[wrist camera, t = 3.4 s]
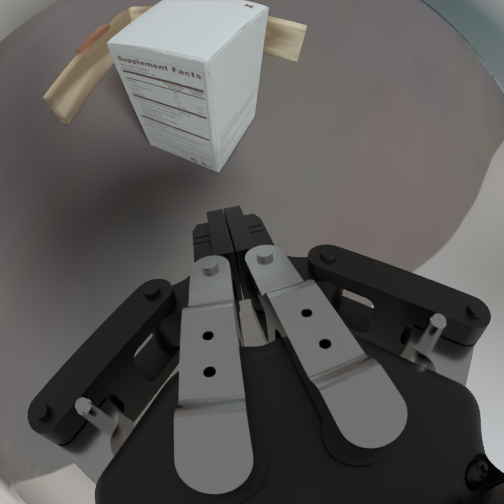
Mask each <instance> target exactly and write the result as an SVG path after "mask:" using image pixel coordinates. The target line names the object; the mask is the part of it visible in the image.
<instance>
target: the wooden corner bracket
mask: <svg viewBox="0 0 504 504" xmlns="http://www.w3.org/2000/svg"><path fill="white" fill-rule="evenodd" d="M152 7H153V6H142V7H130V8H129V9H127V10H123V11H122V12H121V13H120V14H119V15H117V16H116V17H115V18H114V19H113V20H112V21H111V22H110V23H108V24H107V25H101V26H100V27H99V28H98V29H97V30H96V31H95V32H94V33H93V34H92V35H91V36H90V37H89V38H88V39H87V40H86V41H85V42H84V43H83V44H82V45H81V46H80V47H79V48H78V49H77V50H76V52H77V54H78V55H77V56H76V57H75V58H74V59H73V60H72V61H71V62H70V64H69V65H68V66H67V67H66V68H65V70H64V71H63V72H62V73H61V74H60V76H59V77H58V78H57V79H56V81H55V82H54V83H53V85H52V86H51V87H50V89H49V90H48V91H47V93H46V94H45V95H44V97H43V98H44V100H45V101H46V102H47V104H48V105H49V106H50V108H51V109H52V110H53V112H54V113H55V114H56V115H57V117H58V118H59V119H60V121H61V122H62V123H65V124H70V122H71V121H72V119H73V118H74V116H75V115H76V113H77V112H78V110H79V109H80V107H81V106H82V104H83V103H84V101H85V100H86V99H87V97H88V96H89V94H90V93H91V92H92V90H93V89H94V88H95V86H96V85H97V84H98V82H99V81H100V80H101V78H102V77H103V76H104V75H105V73H106V72H107V71H108V70H109V68H110V67H111V66H112V65H113V64H114V61H113V58H112V56H111V53H110V51H109V49H108V46H107V44H106V43H107V42H108V41H109V40H110V39H111V38H112V37H114V36H115V35H116V34H117V33H118V32H120V31H121V30H122V29H123V28H125V27H126V26H127V25H128V24H130V23H131V22H132V21H134V20H135V19H136V18H138V17H139V16H140V15H142V14H143V13H145V12H146V11H147V10H149V9H150V8H152ZM306 28H307V26H306V25H303V24H299V23H295V22H291V21H287V20H283V19H279V18H275V17H270V16H268V18H267V25H266V32H265V39H264V47H263V53H265V54H270V55H274V56H278V57H281V58H285V59H289V60H292V61H296V62H297V60H298V57H299V53H300V50H301V46H302V43H303V39H304V36H305V32H306Z"/></svg>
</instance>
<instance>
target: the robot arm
mask: <svg viewBox="0 0 504 504" xmlns="http://www.w3.org/2000/svg"><path fill="white" fill-rule="evenodd" d="M224 215H225V217H224ZM207 218H208V223H204V224H199V225H197V226H196V227H195V229H194V230H193V244H194V245H193V246H194V262H195V263H194V264H193V265H192V267H191V270H190V276H189V277H188V278H186V279H185V280H183V281H181V282H179V283H177V284H175V285H173V286H171V284H170V282H168V281H167V280H164V279H154V280H150V281H147V282H145V283H144V284H142V285H141V286H140V287H138V288H137V289H136V290H135V291H134V292H133V293H132V294H131V295H130V296H129V297H128V298H127V299H126V300H125V301H124V302H123V303H122V304H121V305H120V306H119V307H118V308H117V309H116V310H115V311H114V312H113V313H112V314H111V315H110V316H109V317H108V318H107V319H106V320H105V321H104V322H103V323H102V325H101V326H100V327H99V328H98V329H97V330H96V331H95V332H94V333H93V334H92V335H91V336H90V337H89V338H88V339H87V340H86V341H85V342H84V343H83V344H82V345H81V347H80V348H79V349H78V350H77V351H76V352H75V353H74V354H73V355H72V356H71V357H70V358H69V360H68V361H67V362H66V363H65V364H64V365H63V366H62V367H61V368H60V369H59V371H58V372H57V373H56V374H55V375H54V376H53V377H52V378H51V380H50V381H49V382H48V383H47V384H46V385H45V386H44V388H43V389H42V390H41V391H40V392H39V393H38V395H37V396H36V397H35V398H34V399H33V401H32V402H31V404H30V406H29V410H28V421H29V424H30V426H31V428H32V429H33V430H34V431H35V432H37V433H39V434H40V435H42V436H43V437H45V438H46V439H48V440H49V441H50V442H51V443H53V444H54V445H56V446H58V447H59V448H61V449H62V450H63V451H64V452H65V453H66V454H67V455H68V456H69V458H70V459H71V460H72V461H73V462H74V463H75V464H76V465H77V466H78V467H79V468H80V469H81V470H82V471H83V472H84V473H85V474H86V475H87V476H88V477H89V478H90V479H91V480H92V481H93V482H94V483H95V484H96V489H95V503H96V504H504V473H503V472H501V471H500V470H499V469H497V468H496V467H495V466H494V465H493V464H492V463H491V462H490V461H489V459H488V458H487V456H486V454H485V450H484V446H483V441H482V434H481V419H480V410H479V407H478V404H477V401H476V399H475V397H474V396H473V394H472V393H471V392H470V391H469V390H468V389H467V388H466V387H465V385H466V381H467V377H468V372H469V368H470V364H471V359H472V353H473V348H474V345H475V344H476V343H477V341H478V340H479V338H480V337H481V335H482V334H483V332H484V330H485V329H486V327H487V326H488V324H489V322H490V319H491V314H490V311H489V309H488V307H487V306H486V305H485V303H483V302H482V301H481V300H480V299H478V298H476V297H473V296H471V295H469V294H466V293H464V292H461V291H458V290H456V289H453V288H451V287H448V286H446V285H443V284H440V283H438V282H435V281H432V280H430V279H427V278H424V277H422V276H419V275H416V274H414V273H411V272H408V271H406V270H403V269H400V268H397V267H395V266H392V265H389V264H386V263H383V262H381V261H378V260H375V259H372V258H369V257H367V256H364V255H361V254H358V253H355V252H352V251H349V250H346V249H343V248H340V247H338V246H334V245H319V246H316V247H314V248H312V249H311V250H310V251H309V253H308V257H290V256H286V254H285V253H284V252H283V250H282V249H280V248H279V247H277V246H274V244H273V242H272V240H271V238H270V236H269V234H268V232H267V230H266V228H265V226H264V225H263V222H262V220H261V218H259V217H258V216H256V215H254V214H249V215H243V213H242V210H241V208H240V206H234V207H229V208H224V213H223V210H222V209H219V210H214V211H209V212H207ZM240 286H241V288H240ZM241 289H242V293H243V296H244V300H246V299H251V303H252V309H253V314H254V317H255V319H256V322H257V324H258V326H259V329H260V331H261V334H262V336H263V338H264V341H265V343H266V345H263V346H258V347H244V340H243V333H242V327H241V319H240V314H239V312H240V305H239V301H241V300H243V299H242V293H241ZM343 289H345V290H347V291H350V292H352V293H355V294H357V295H360V296H362V297H365V298H367V299H369V300H370V301H371V302H372V303H373V305H374V308H371V307H369V306H366V305H364V304H361V303H359V302H357V301H354V300H352V299H349V298H347V297H344V296H342V294H343ZM151 333H152V334H153V337H152V338H151V339H150V340H149V341H148V342H147V344H146V345H145V346H144V347H143V348H142V349H141V351H140V352H139V353H138V354H137V355H136V356H135V358H134V355H135V352H136V350H137V349H138V348H139V347H140V346H141V344H142V343H143V342H144V341H145V340H146V339H147V338H148V336H149V335H150V334H151ZM178 364H179V372H177V373H176V374H175V375H174V376H172V377H171V378H170V379H169V381H168V382H167V383H166V384H165V385H164V387H163V388H162V390H161V391H160V392H159V394H158V395H157V397H156V398H155V399H154V401H153V402H152V404H151V405H150V407H149V408H148V409H147V411H146V412H145V414H144V415H143V416H142V418H141V419H140V421H139V422H138V423H137V425H136V426H135V428H134V425H133V423H134V421H135V420H136V419H137V417H138V416H139V415H140V414H141V412H142V411H143V410H144V408H145V407H146V406H147V404H148V403H149V402H150V401H151V399H152V398H153V397H154V395H155V394H156V393H157V391H158V390H159V389H160V387H161V386H162V385H163V384H164V382H165V381H166V380H167V378H168V377H169V376H170V374H171V373H172V372H173V370H174V369H175V368H176V366H177V365H178Z"/></svg>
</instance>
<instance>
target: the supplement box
mask: <svg viewBox="0 0 504 504" xmlns="http://www.w3.org/2000/svg"><path fill="white" fill-rule="evenodd" d="M268 10H269V8H268V7H267V6H264V5H260V4H257V3H253V2H249V1H245V0H162V1H160V2H159V3H158V4H156V5H155V6H153V7H152V8H150V9H149V10H147V11H146V12H145V13H143V14H142V15H140V16H139V17H138V18H136V19H135V20H134V21H132V22H131V23H130V24H128V25H127V26H126V27H125V28H123V29H122V30H121V31H120V32H118V33H117V34H116V35H115V36H114V37H112V38H111V39H110V40H109V41H108V42H107V43H106V44H107V46H108V49H109V51H110V53H111V56H112V58H113V61H114V63H115V66H116V68H117V70H118V73H119V75H120V78H121V80H122V82H123V85H124V87H125V89H126V92H127V94H128V96H129V98H130V101H131V103H132V105H133V108H134V110H135V112H136V114H137V116H138V119H139V121H140V123H141V126H142V128H143V130H144V132H145V134H146V136H147V139H148V141H149V143H150V145H152V146H155V147H157V148H159V149H162V150H164V151H167V152H169V153H172V154H174V155H177V156H179V157H182V158H184V159H186V160H189V161H191V162H194V163H196V164H198V165H201V166H203V167H206V168H208V169H210V170H213V171H215V172H218V173H219V172H220V171H221V169H222V167H223V166H224V164H225V163H226V161H227V159H228V158H229V156H230V154H231V153H232V151H233V150H234V148H235V146H236V145H237V143H238V142H239V140H240V138H241V137H242V135H243V134H244V132H245V130H246V129H247V127H248V126H249V124H250V123H251V121H252V119H253V118H254V117H255V109H256V101H257V93H258V85H259V77H260V70H261V62H262V54H263V47H264V39H265V32H266V25H267V18H268Z"/></svg>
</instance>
